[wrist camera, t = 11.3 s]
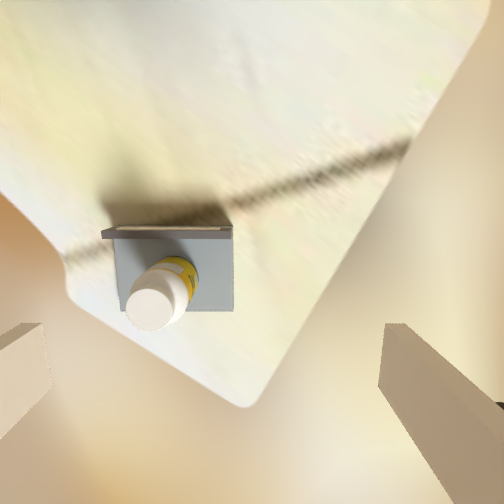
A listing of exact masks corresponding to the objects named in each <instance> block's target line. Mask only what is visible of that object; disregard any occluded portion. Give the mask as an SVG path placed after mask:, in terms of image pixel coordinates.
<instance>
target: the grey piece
mask: <svg viewBox="0 0 504 504" xmlns="http://www.w3.org/2000/svg"><path fill="white" fill-rule="evenodd" d="M101 234H102V239H113V240H114V250H115V260H116V270H117V280H118V290H119V300H120V310H121V311H126V303H127V300H128V298H129V297H130V290H131V287H132V285H133V283H134V282H135V280H136V279H137V278H138V277H139V276H140V275H142V274H143V273H144V272H145V271H147V270H148V269H149V268H151V267H152V266H153V265H154V264H156V263H157V262H158V261H160V260H161V259H163V258H165V257H168V256H180V257H183V258H186V259H187V260H189V261H190V262H191V263H192V264H193V265H194V266H195V268H196V270H197V272H198V276H199V282H198V286H197V289H196V291H195V293H194V295H193V297H192V298H191V300H190V302H189V304H188V306H187V308H186V310H185V311H233V309H234V265H233V226H116V227H112V228H109V229H105V230H102V231H101Z"/></svg>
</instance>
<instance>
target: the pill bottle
mask: <svg viewBox="0 0 504 504" xmlns="http://www.w3.org/2000/svg"><path fill="white" fill-rule="evenodd" d="M198 282H199V276H198V272H197V270H196V268H195V266H194V265H193V264H192V263H191V262H190V261H189V260H187V259H186V258H183V257H180V256H168V257H165V258H163V259H161V260H160V261H158V262H157V263H156V264H154V265H153V266H152V267H151V268H149V269H148V270H147V271H145V272H144V273H143V274H142V275H140V276H139V277H138V278H137V279H136V280H135V282H134V283H133V285H132V287H131V290H130V297H129V298H128V300H127V303H126V314H127V317H128V319H129V321H130V322H131V323H132V324H133V325H134V326H135V327H137V328H138V329H140V330H143V331H148V332H153V331H158V330H160V329H162V328H164V327H165V326H166V325H168V324H171V323H173V322H175V321H176V320H178V319H179V318H180V317H181V316H182V315H183V313H184V312H185V310H186V308H187V306H188V304H189V302H190V300H191V298H192V297H193V295H194V293H195V291H196V289H197V286H198Z"/></svg>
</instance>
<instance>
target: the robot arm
mask: <svg viewBox="0 0 504 504" xmlns="http://www.w3.org/2000/svg"><path fill="white" fill-rule="evenodd" d="M51 387H52V382H51V376H50V369H49V363H48V357H47V351H46V345H45V339H44V332H43V326H42V323H21V324H20V325H18V326H16V327H15V328H13V329H11V330H9V331H8V332H6V333H4V334H3V335H1V336H0V439H1V438H2V437H3V436H4V435H5V434H6V433H7V432H8V431H9V430H10V429H11V428H12V427H13V426H14V425H15V424H16V423H17V422H18V421H19V420H20V419H21V418H22V417H23V416H24V415H25V414H26V413H27V412H28V410H30V409H31V408H32V407H33V406H34V404H36V403H37V402H38V401H39V400H40V399H41V397H43V396H44V394H46V393H47V392H48V391H49V390H50V388H51ZM378 387H379V389H380V390H381V391H382V393H383V395H384V396H385V397H386V399H387V401H388V402H389V404H390V406H391V407H392V409H393V410H394V412H395V413H396V415H397V416H398V418H399V419H400V421H401V423H402V424H403V426H404V427H405V429H406V430H407V432H408V433H409V435H410V436H411V438H412V440H413V441H414V443H415V444H416V446H417V447H418V449H419V450H420V452H421V453H422V455H423V457H424V458H425V460H426V461H427V463H428V464H429V466H430V467H431V469H432V470H433V472H434V473H435V475H436V477H437V478H438V480H439V481H440V483H441V484H442V486H443V487H444V489H445V490H446V492H447V493H448V495H449V497H450V498H451V500H452V501H453V503H454V504H504V403H503V402H494V401H493V400H492V399H490V398H489V397H488V396H487V395H486V394H485V393H484V392H482V391H481V390H480V389H479V388H478V387H477V386H476V385H475V384H473V383H472V382H471V381H470V380H469V379H468V378H466V377H465V376H464V375H463V374H462V373H461V372H460V371H458V370H457V369H456V368H455V367H454V366H453V365H452V364H451V363H449V362H448V361H447V360H446V359H445V358H444V357H443V356H441V355H440V354H439V353H438V352H437V351H436V350H434V349H433V348H432V347H431V346H430V345H429V344H428V343H427V342H425V341H424V340H423V339H422V338H421V337H420V336H418V335H417V334H416V333H415V332H414V331H413V330H412V329H411V328H409V327H408V326H407V325H406V324H385V330H384V338H383V347H382V356H381V365H380V374H379V383H378Z"/></svg>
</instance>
